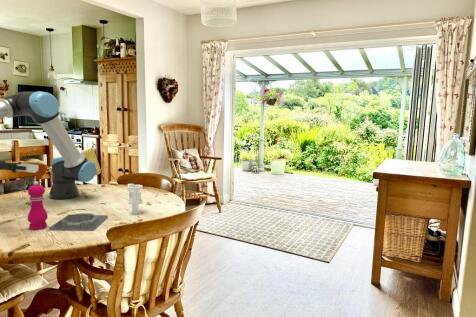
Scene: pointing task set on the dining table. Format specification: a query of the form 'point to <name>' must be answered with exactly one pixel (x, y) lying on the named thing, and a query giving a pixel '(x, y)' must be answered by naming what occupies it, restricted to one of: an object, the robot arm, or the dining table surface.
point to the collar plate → (79, 222)
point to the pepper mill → (37, 207)
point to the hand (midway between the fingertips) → (37, 168)
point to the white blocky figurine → (135, 197)
